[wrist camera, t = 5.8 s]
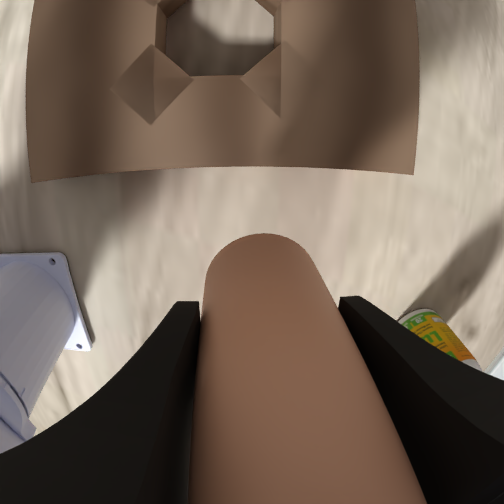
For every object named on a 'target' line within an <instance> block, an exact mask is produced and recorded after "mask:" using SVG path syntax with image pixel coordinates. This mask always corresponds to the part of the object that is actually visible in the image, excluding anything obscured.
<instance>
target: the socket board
mask: <svg viewBox="0 0 504 504" xmlns="http://www.w3.org/2000/svg"><path fill="white" fill-rule="evenodd" d="M187 1H188V0H35V1H34V7H33V12H32V19H31V26H30V34H29V43H28V54H27V69H26V130H27V145H28V157H29V167H30V175H31V183H35V182H41V181H48V180H55V179H62V178H70V177H78V176H86V175H96V174H105V173H116V172H127V171H140V170H154V169H171V168H193V167H231V166H273V167H311V168H333V169H350V170H364V171H377V172H388V173H399V174H408V175H414V166H415V156H416V145H417V132H418V115H419V41H418V26H417V14H416V4H415V0H255V1H257V2H258V3H259V4H260V5H261V6H263V7H264V8H265V9H266V10H267V11H268V12H270V13H271V14H272V15H273V16H274V50H273V51H271V52H270V53H269V54H268V55H266V56H265V57H264V58H263V59H262V60H261V61H259V62H258V63H257V64H256V65H255V66H254V67H252V68H251V69H250V70H249V71H248V72H247V73H246V74H244V75H214V76H191V77H190V76H189V75H188V74H187V73H186V72H185V71H183V70H182V69H181V68H180V67H179V66H178V65H176V64H175V63H174V62H173V61H172V60H171V59H169V58H168V57H167V56H166V55H165V53H166V28H167V18H168V17H169V16H170V15H172V14H173V13H174V12H175V11H176V10H177V9H178V8H180V7H181V6H182V5H183V4H184V3H185V2H187Z"/></svg>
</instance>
